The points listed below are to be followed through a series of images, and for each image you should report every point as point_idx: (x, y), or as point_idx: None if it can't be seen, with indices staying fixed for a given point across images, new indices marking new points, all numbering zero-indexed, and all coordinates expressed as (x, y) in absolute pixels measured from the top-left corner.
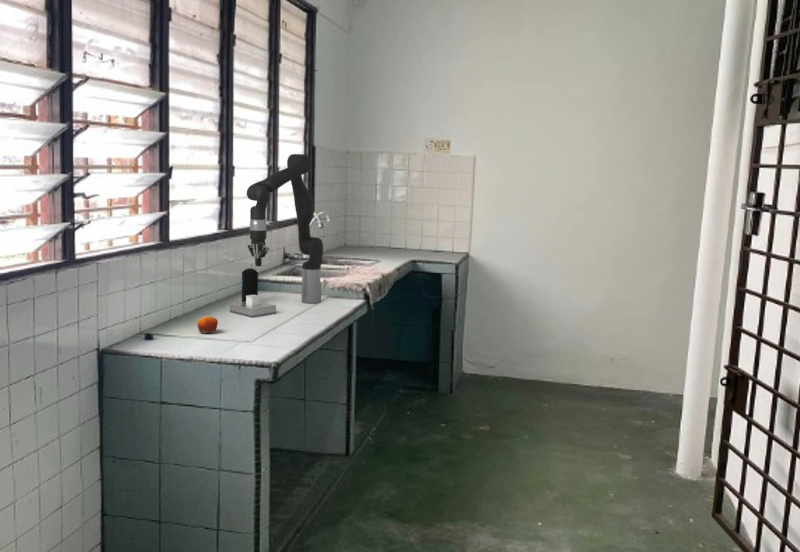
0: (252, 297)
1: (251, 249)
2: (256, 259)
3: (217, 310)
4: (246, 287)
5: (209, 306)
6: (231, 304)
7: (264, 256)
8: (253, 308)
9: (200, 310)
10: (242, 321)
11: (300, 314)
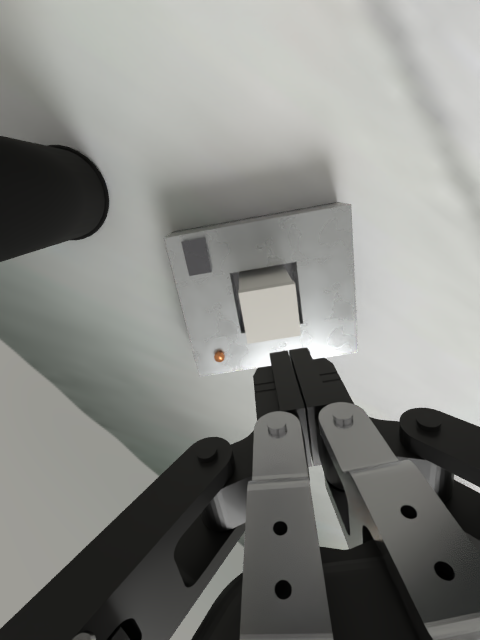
0: (300, 333)
1: (162, 635)
2: (309, 454)
3: (148, 380)
4: (43, 244)
5: (56, 372)
6: (210, 374)
7: (445, 420)
8: (351, 342)
9: (123, 427)
10: (376, 392)
11: (431, 87)
